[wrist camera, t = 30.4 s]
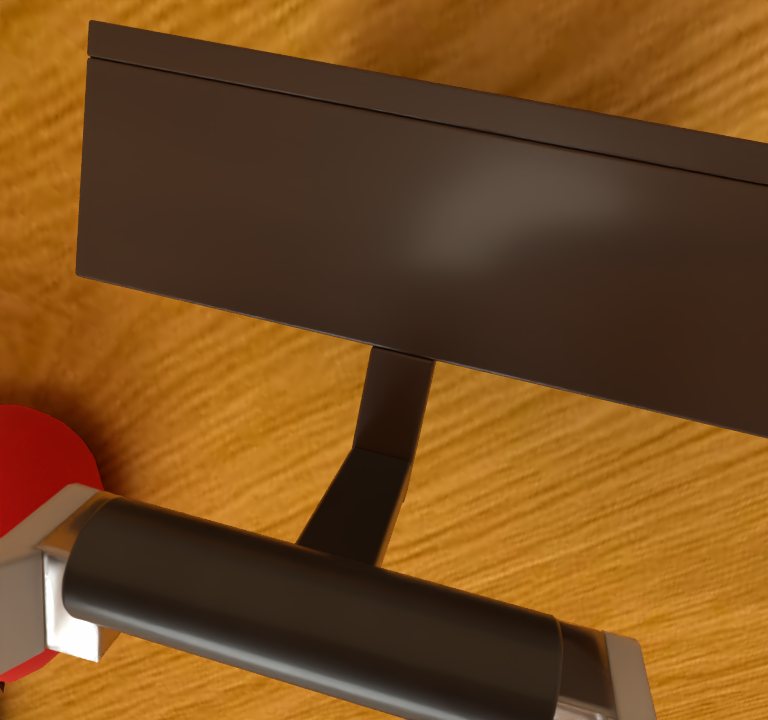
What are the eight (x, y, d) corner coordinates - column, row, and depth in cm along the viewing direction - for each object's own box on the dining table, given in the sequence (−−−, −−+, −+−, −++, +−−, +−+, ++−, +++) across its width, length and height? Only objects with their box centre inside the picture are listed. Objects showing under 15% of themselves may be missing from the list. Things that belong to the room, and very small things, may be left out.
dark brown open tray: (-243, -114, 6) (-194, 566, 9) (1287, 142, 5) (867, 895, 7) (327, 114, 27) (298, 300, 29) (657, 178, 25) (600, 369, 27)
